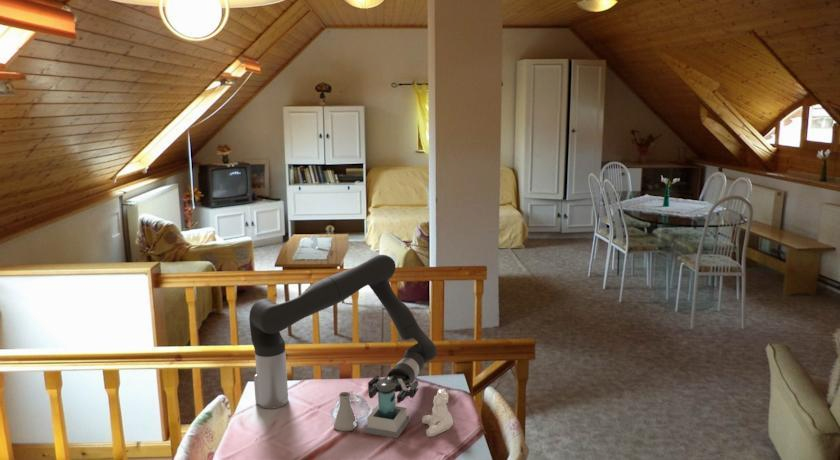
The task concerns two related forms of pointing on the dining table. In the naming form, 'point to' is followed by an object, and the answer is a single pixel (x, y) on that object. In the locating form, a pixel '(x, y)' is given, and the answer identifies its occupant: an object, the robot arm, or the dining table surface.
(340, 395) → the flask
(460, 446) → the dining table surface
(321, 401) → the dining table surface
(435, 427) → the seated beast figurine
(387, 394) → the teal capped jar
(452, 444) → the dining table surface
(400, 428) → the dock
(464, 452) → the dining table surface
